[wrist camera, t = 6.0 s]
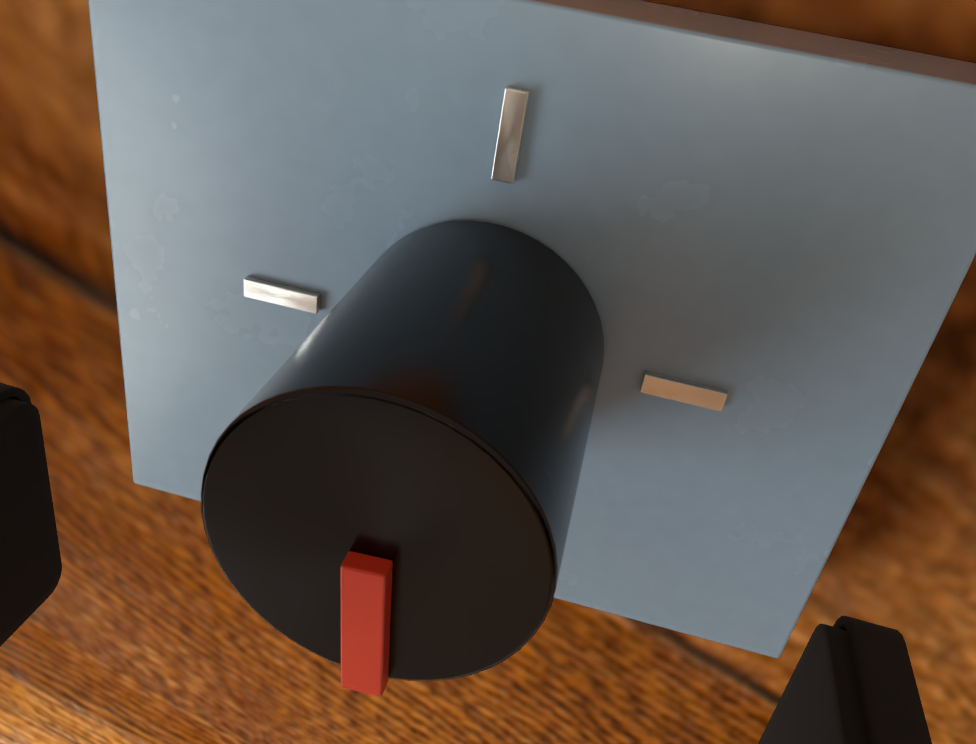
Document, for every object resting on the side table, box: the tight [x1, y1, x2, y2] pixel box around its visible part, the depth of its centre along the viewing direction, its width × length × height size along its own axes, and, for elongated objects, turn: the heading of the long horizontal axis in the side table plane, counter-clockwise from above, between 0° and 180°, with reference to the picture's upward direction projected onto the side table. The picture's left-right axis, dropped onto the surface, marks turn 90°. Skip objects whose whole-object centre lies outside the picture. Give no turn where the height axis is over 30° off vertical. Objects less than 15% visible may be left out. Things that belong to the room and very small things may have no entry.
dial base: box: [88, 0, 976, 658], centre depth 16 cm, size 14×11×3 cm
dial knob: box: [201, 220, 604, 697], centre depth 12 cm, size 4×4×6 cm
